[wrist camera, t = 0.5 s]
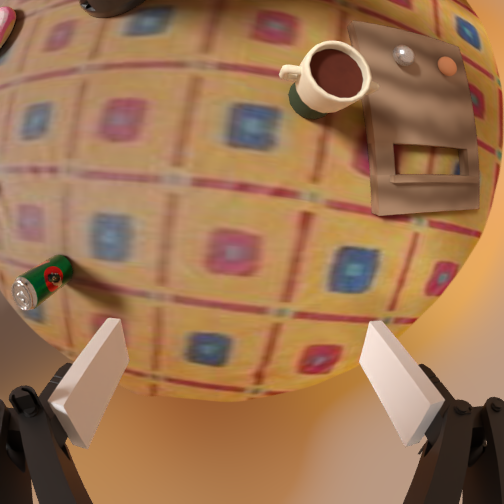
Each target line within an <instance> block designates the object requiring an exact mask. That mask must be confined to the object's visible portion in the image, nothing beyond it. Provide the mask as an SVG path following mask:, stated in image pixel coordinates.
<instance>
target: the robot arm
mask: <svg viewBox="0 0 504 504" xmlns="http://www.w3.org/2000/svg"><path fill="white" fill-rule="evenodd" d="M144 1H145V0H79V3H80V6H81V7H82V8H83V9H84V10H85V11H86V12H87V13H88V14H89V15H91V16H94V17H99V18H105V17H111V16H115V15H119V14H122V13H124V12H127V11H129V10H131V9H133V8H135V7H136V6H138V5H140V4H141V3H142V2H144ZM128 363H129V356H128V352H127V348H126V343H125V339H124V334H123V329H122V324H121V319H115V318H107V320H106V321H105V322H104V323H103V325H102V326H101V327H100V329H99V330H98V331H97V333H96V334H95V335H94V336H93V338H92V339H91V340H90V342H89V343H88V344H87V346H86V347H85V348H84V350H83V351H82V352H81V354H80V355H79V356H78V358H77V359H76V361H75V362H74V363H73V364H71V363H66V364H65V365H64V366H62V367H61V368H59V370H58V371H57V372H56V374H55V375H54V377H53V378H52V379H51V380H50V382H49V383H48V384H47V386H46V387H45V389H44V390H43V391H42V393H41V394H40V396H39V397H38V396H37V394H36V392H35V390H34V389H33V388H32V387H29V386H20V387H17V388H16V389H14V390H13V391H12V392H11V394H10V395H9V401H10V402H11V404H12V406H13V407H14V408H7V407H6V406H5V404H4V402H3V401H2V400H1V399H0V504H33V500H32V487H31V479H32V482H33V486H34V489H35V492H36V495H37V498H38V501H39V504H93V503H92V501H91V499H90V497H89V495H88V493H87V491H86V489H85V487H84V485H83V483H82V480H81V478H80V476H79V474H78V472H77V469H76V467H75V464H74V462H73V460H72V457H71V455H70V452H69V449H68V447H67V445H66V444H65V441H66V439H67V437H68V438H69V439H70V441H71V442H72V444H73V445H76V446H79V447H82V448H86V449H88V448H89V445H90V443H91V441H92V438H93V436H94V434H95V432H96V430H97V427H98V425H99V423H100V421H101V418H102V416H103V414H104V412H105V410H106V407H107V406H108V403H109V401H110V399H111V397H112V395H113V393H114V391H115V389H116V387H117V385H118V383H119V381H120V379H121V377H122V375H123V373H124V371H125V369H126V367H127V365H128ZM359 363H360V364H361V366H362V368H363V370H364V372H365V373H366V375H367V377H368V379H369V380H370V382H371V384H372V386H373V388H374V390H375V391H376V393H377V395H378V396H379V399H380V400H381V402H382V404H383V406H384V408H385V409H386V411H387V413H388V415H389V417H390V419H391V421H392V423H393V425H394V427H395V428H396V430H397V432H398V434H399V436H400V438H401V440H402V442H403V444H404V446H405V447H407V446H410V445H413V444H416V443H419V442H420V440H421V439H422V437H423V436H424V434H425V435H426V437H427V439H428V440H427V441H426V443H425V444H424V445H423V447H422V448H421V450H420V451H419V453H418V454H421V452H422V451H423V452H422V455H421V458H420V461H419V464H418V467H417V469H416V472H415V475H414V478H413V480H412V483H411V485H410V488H409V490H408V493H407V495H406V497H405V500H404V502H403V504H459V501H460V497H461V493H462V489H463V503H462V504H504V401H503V400H501V399H500V398H496V397H491V398H489V399H487V401H486V403H485V404H484V406H479V407H472V406H471V405H470V404H469V403H468V402H466V401H464V400H455V399H454V398H453V396H452V395H451V394H450V393H449V391H448V390H447V389H446V388H445V386H444V385H443V384H442V383H441V382H440V380H439V379H438V378H437V377H436V375H435V374H434V373H433V372H432V370H431V369H430V368H428V367H427V366H425V365H424V364H419V365H418V364H417V363H416V362H415V361H414V359H413V358H412V357H411V356H410V354H409V353H408V352H407V351H406V349H405V348H404V347H403V346H402V345H401V343H400V342H399V341H398V340H397V338H396V337H395V336H394V335H393V334H392V332H391V331H390V330H389V329H388V328H387V326H386V325H385V324H384V323H383V322H382V321H371V322H369V326H368V330H367V334H366V338H365V342H364V346H363V350H362V354H361V357H360V361H359ZM486 441H487V445H486Z"/></svg>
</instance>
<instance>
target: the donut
mask: <svg viewBox="0 0 504 504" xmlns="http://www.w3.org/2000/svg"><path fill="white" fill-rule="evenodd" d="M15 20H16V13H15V11H14V10H13V9H12V8H10V7H2V8H0V48H1V47H2V46H3V44H4V43H5V42H6V40H7V38H8V37H9V35H10V33H11V31H12V29H13V27H14V24H15Z"/></svg>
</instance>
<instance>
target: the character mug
mask: <svg viewBox="0 0 504 504" xmlns="http://www.w3.org/2000/svg"><path fill="white" fill-rule="evenodd" d="M279 76H280V78H281V79H284V80H289V81H295V83H294V84H293V85H292V86H291V88H290V91H289V100H290V104H291V106H292V107H293V109H294V110H295V112H296V113H298V114H299V115H301V116H303V117H304V118H309V119H318V118H321V117H324V116H325V115H326V114H327V113H332V112H337V111H339V110H341V109H343V108H345V107H347V106H349V105H351V104H353V103H355V102H356V101H358V100H360V99H362V98H363V97H364V96H365V95H369V94H372V93H374V92H376V91H378V89H379V87H380V86H379V84H378V83H376V82H373V81H372V75H371V71H370V67H369V65H368V63H367V62H366V60H365V58H364V57H363V55H361V54H360V53H359V52H358V51H357V50H356V49H355V48H354V47H352V46H350V45H348V44H346V43H343V42H340V41H325V42H322V43H320V44H317V45H315V46H314V47H313V48H312V49H311V50H310V51H309V52H308V53H307V55H306V56H305V58H304V59H303V61H302V62H301V64H300V66H295V65H284V66H283V67H282V69H281V71H280V73H279Z"/></svg>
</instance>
